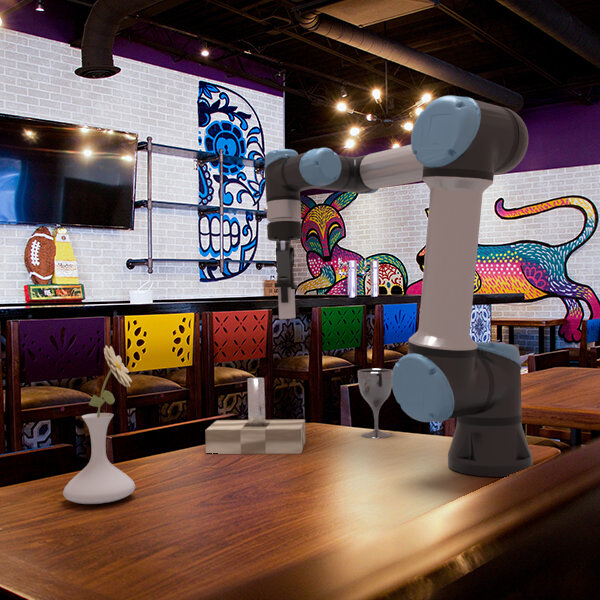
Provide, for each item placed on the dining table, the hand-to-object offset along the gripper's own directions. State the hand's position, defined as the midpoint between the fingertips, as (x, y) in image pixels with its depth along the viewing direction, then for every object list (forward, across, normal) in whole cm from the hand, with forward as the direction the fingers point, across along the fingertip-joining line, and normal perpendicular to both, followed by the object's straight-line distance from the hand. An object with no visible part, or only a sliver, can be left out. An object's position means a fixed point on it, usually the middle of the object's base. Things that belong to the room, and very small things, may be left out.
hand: (287, 318), depth 156 cm
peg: (+28, +2, -8) cm, 29 cm away
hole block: (+28, +2, -8) cm, 29 cm away
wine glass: (+28, -10, +19) cm, 35 cm away
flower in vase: (+28, +40, -29) cm, 57 cm away
